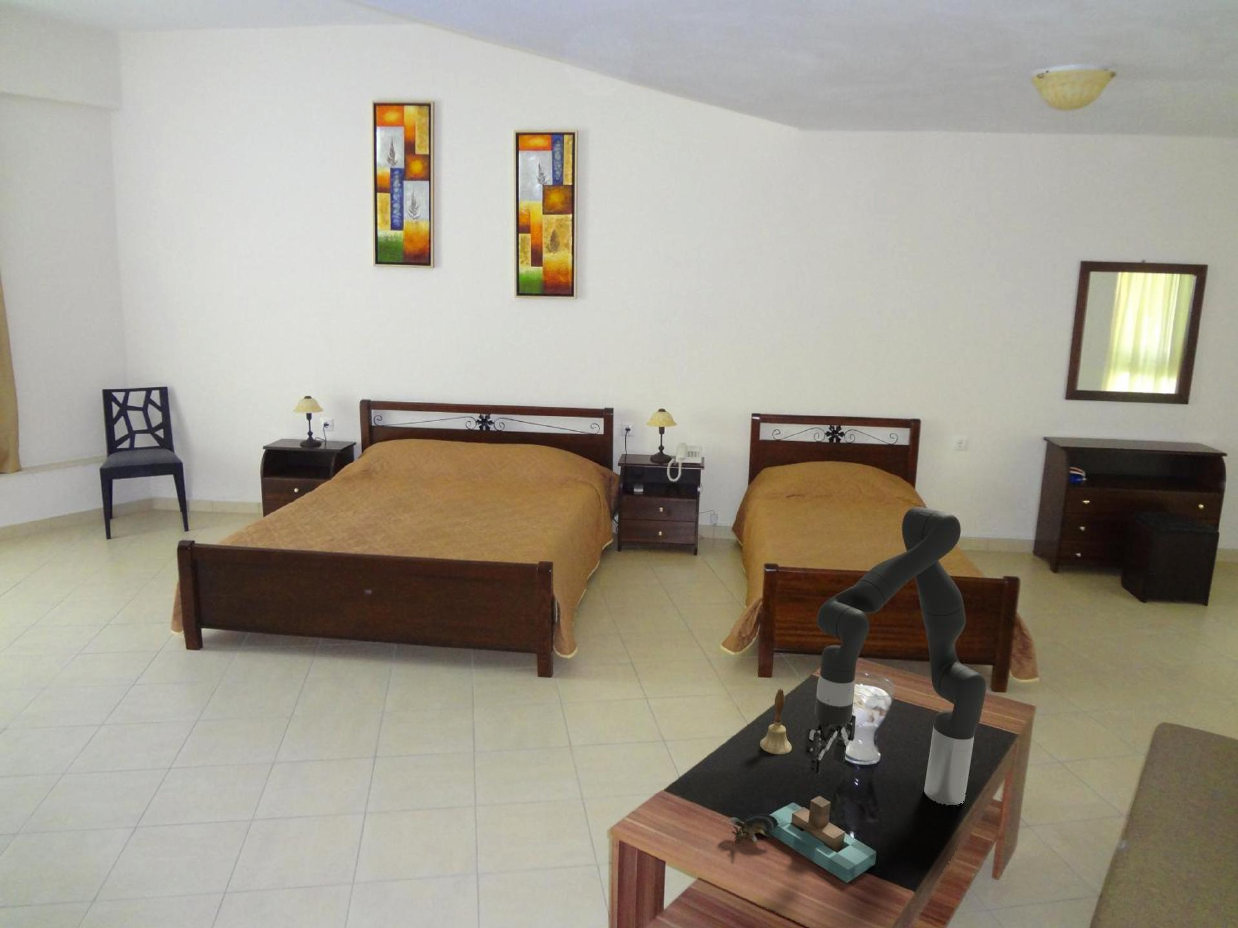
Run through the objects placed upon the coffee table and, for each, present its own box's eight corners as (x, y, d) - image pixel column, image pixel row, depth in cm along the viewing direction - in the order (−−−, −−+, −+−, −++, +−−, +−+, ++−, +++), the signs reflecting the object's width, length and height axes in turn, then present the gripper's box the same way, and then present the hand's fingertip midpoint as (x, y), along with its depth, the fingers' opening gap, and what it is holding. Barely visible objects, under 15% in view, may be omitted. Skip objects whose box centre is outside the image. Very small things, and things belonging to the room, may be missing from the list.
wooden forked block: (789, 835, 194) (794, 792, 192) (801, 829, 197) (806, 786, 194) (830, 861, 186) (836, 816, 184) (842, 854, 188) (847, 810, 186)
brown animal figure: (752, 853, 185) (784, 834, 190) (738, 819, 187) (771, 801, 191) (734, 852, 192) (765, 834, 196) (721, 820, 193) (752, 802, 198)
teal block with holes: (763, 829, 196) (764, 817, 195) (791, 813, 202) (793, 801, 202) (846, 882, 179) (848, 869, 179) (874, 864, 186) (876, 851, 185)
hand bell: (754, 747, 231) (760, 690, 228) (767, 735, 238) (773, 680, 234) (784, 758, 226) (790, 700, 223) (796, 745, 233) (802, 689, 230)
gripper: (829, 712, 176) (821, 786, 180) (870, 693, 185) (862, 763, 189) (799, 698, 182) (792, 769, 185) (840, 680, 191) (832, 749, 194)
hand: (827, 766), depth 187 cm, fingers open, 8 cm apart
